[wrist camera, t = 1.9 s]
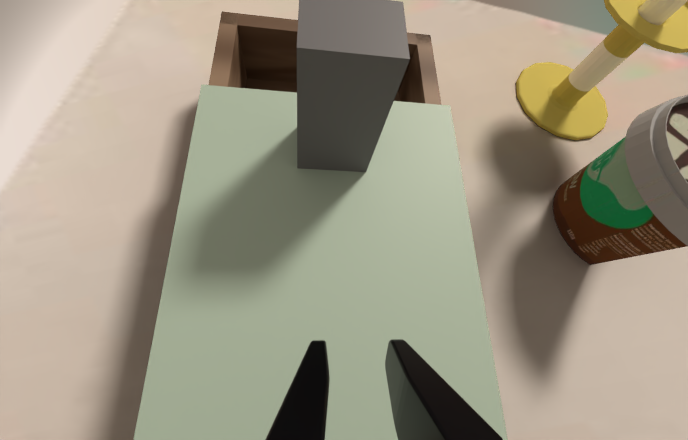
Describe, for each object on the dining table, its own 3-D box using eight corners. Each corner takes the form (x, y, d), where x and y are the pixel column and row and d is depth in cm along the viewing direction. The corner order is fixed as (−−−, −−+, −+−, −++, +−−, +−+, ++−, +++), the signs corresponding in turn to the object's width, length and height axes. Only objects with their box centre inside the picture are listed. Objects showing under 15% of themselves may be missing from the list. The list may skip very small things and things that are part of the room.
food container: (566, 141, 31) (677, 56, 22) (622, 177, 31) (762, 104, 21) (519, 234, 27) (635, 176, 18) (584, 279, 26) (741, 241, 17)
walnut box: (430, 301, 24) (470, 287, 18) (204, 301, 22) (172, 285, 16) (406, 90, 31) (430, 35, 26) (236, 75, 29) (221, 11, 23)
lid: (501, 458, 15) (742, 591, 7) (133, 483, 13) (-146, 714, 5) (445, 113, 22) (528, -20, 14) (205, 94, 20) (143, -75, 12)
